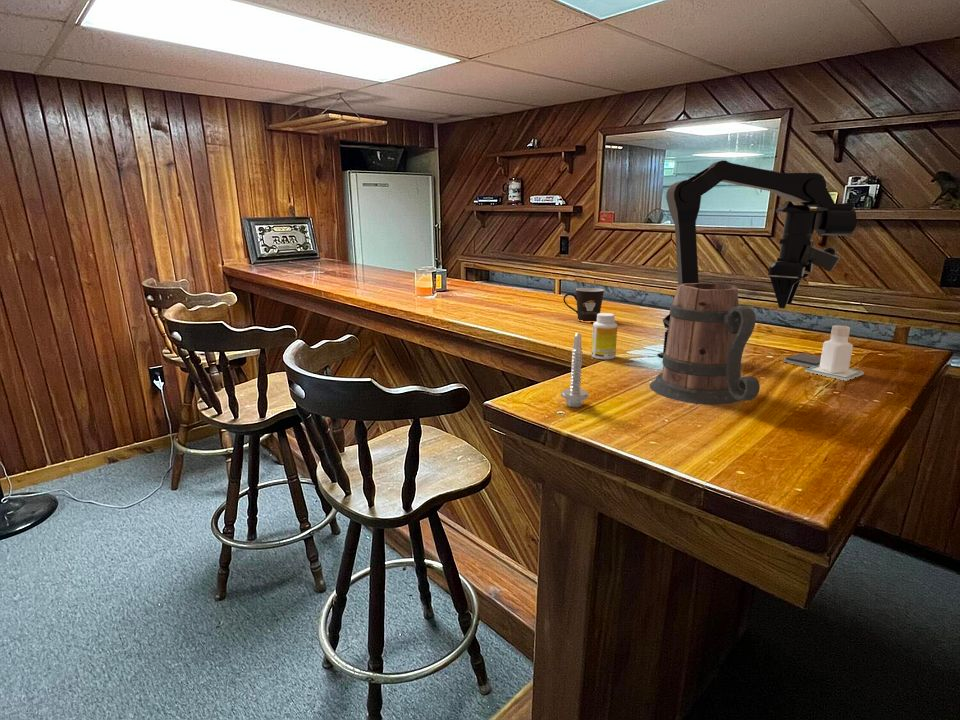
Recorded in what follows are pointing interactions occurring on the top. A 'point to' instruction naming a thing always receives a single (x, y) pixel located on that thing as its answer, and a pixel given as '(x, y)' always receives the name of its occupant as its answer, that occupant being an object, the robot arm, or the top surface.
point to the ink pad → (804, 360)
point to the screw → (575, 377)
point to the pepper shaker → (837, 351)
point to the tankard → (706, 347)
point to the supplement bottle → (604, 336)
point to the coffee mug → (587, 303)
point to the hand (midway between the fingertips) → (785, 305)
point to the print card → (841, 376)
